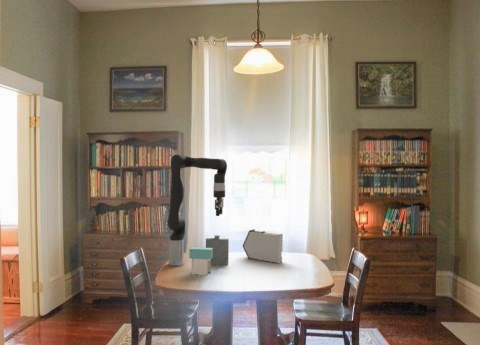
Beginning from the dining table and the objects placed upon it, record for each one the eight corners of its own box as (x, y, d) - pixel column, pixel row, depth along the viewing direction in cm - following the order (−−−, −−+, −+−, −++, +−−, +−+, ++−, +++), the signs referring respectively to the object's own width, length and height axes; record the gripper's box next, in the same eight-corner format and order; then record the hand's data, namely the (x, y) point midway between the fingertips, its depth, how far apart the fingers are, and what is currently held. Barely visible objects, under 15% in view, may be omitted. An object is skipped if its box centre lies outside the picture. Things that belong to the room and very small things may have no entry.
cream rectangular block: (191, 274, 218) (191, 259, 218) (195, 270, 226) (195, 256, 226) (207, 275, 216) (207, 259, 216) (210, 271, 224) (210, 256, 224)
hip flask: (228, 263, 244) (228, 235, 243) (227, 265, 239) (228, 236, 239) (205, 263, 245) (206, 234, 245) (204, 264, 241) (205, 235, 241)
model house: (284, 232, 252) (248, 227, 268) (279, 233, 245) (242, 229, 261) (283, 261, 253) (248, 255, 269) (278, 264, 245) (242, 257, 261)
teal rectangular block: (189, 258, 220) (189, 248, 220) (191, 256, 224) (191, 247, 224) (211, 259, 218) (211, 249, 218) (212, 257, 222) (212, 248, 222)
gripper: (216, 189, 233) (216, 213, 233) (210, 190, 219) (210, 216, 219) (227, 189, 232) (227, 213, 232) (222, 190, 218) (222, 216, 218)
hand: (219, 215), depth 225 cm, fingers open, 8 cm apart
